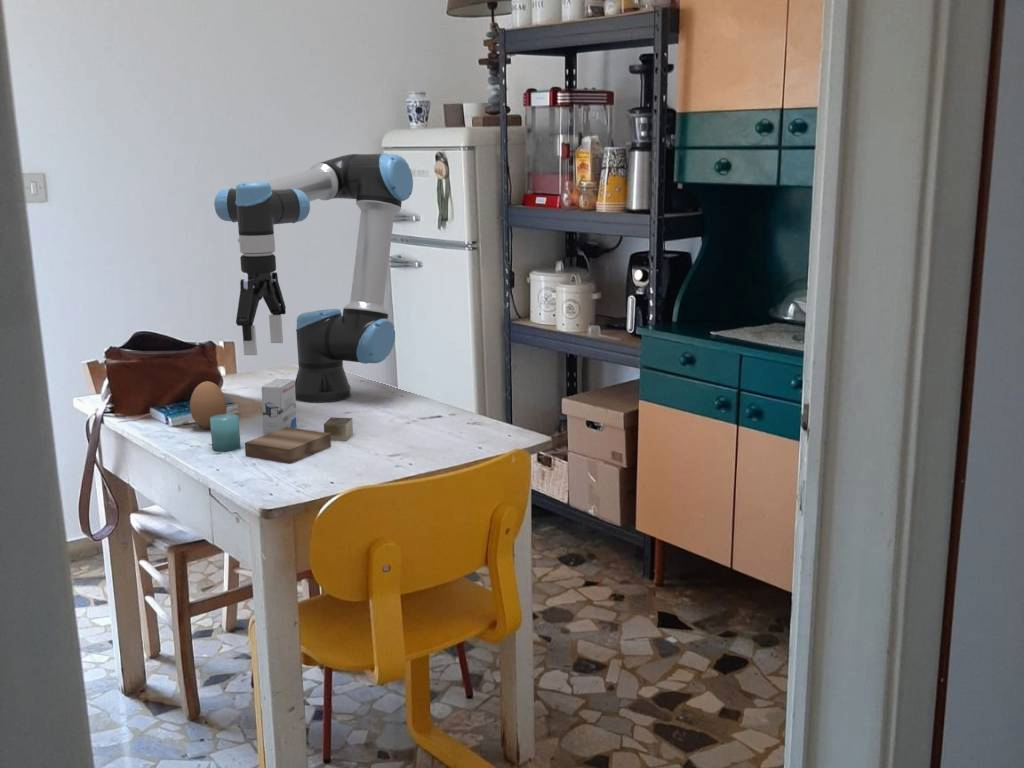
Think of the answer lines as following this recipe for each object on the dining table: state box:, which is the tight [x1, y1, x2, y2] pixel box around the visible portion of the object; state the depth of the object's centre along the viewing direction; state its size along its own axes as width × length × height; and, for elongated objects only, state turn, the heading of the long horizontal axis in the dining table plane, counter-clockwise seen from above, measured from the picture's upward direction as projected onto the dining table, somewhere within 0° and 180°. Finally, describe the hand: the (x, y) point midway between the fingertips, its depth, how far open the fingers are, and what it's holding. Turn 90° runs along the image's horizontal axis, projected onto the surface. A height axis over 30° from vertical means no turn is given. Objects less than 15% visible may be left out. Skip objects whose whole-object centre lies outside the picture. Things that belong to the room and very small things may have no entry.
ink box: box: [261, 378, 298, 436], centre depth 228 cm, size 9×5×12 cm, turn 168°
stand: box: [244, 427, 332, 464], centre depth 213 cm, size 14×12×3 cm
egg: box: [189, 380, 228, 430], centre depth 231 cm, size 8×8×11 cm
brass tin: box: [323, 417, 354, 442], centre depth 224 cm, size 6×5×4 cm
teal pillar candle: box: [210, 413, 241, 453], centre depth 215 cm, size 6×6×7 cm
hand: (264, 348), depth 221 cm, fingers open, 13 cm apart
